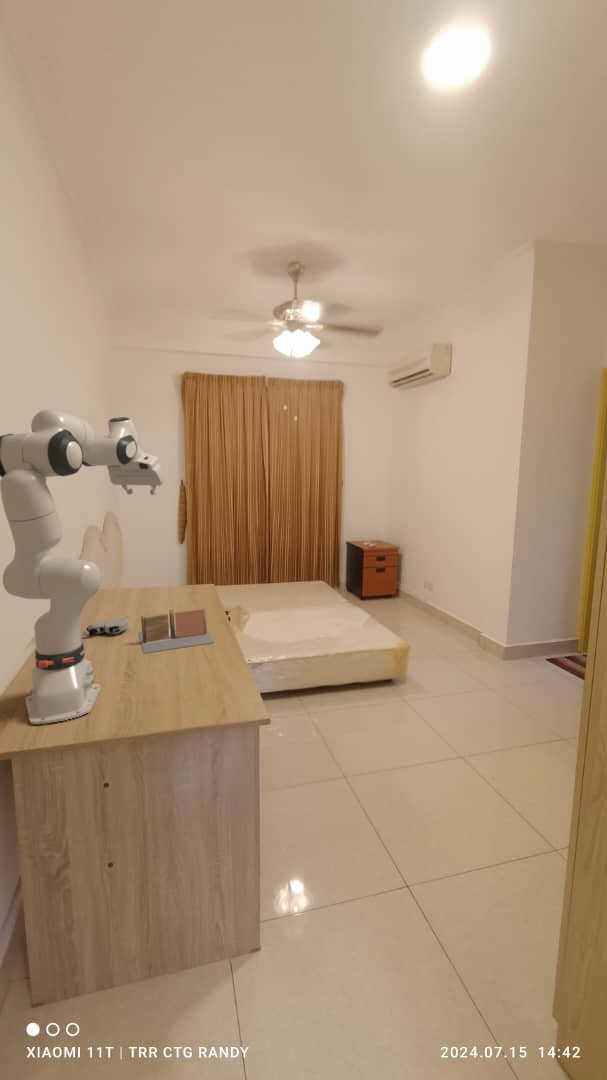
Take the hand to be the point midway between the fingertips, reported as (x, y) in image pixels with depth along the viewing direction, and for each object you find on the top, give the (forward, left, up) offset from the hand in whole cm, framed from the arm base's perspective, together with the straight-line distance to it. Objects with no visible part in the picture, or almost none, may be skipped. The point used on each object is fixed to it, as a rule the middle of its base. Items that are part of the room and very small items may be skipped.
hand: (141, 494), depth 179 cm
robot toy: (+2, +16, -53) cm, 55 cm away
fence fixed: (-16, -1, -53) cm, 55 cm away
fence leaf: (-16, -13, -52) cm, 56 cm away
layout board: (-15, -7, -53) cm, 55 cm away
